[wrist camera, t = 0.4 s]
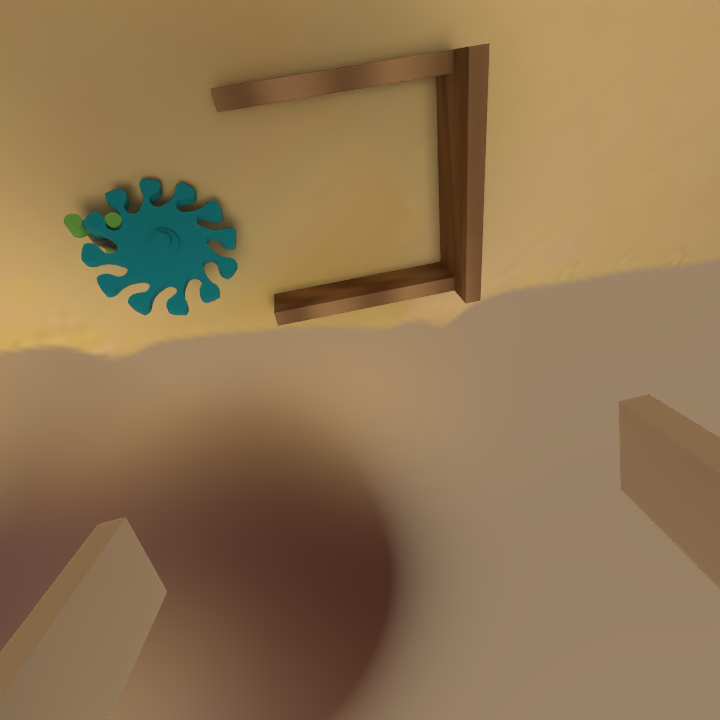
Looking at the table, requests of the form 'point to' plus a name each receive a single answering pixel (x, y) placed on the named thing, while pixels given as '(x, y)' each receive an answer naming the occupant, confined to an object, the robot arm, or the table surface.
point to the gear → (155, 246)
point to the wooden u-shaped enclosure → (456, 176)
